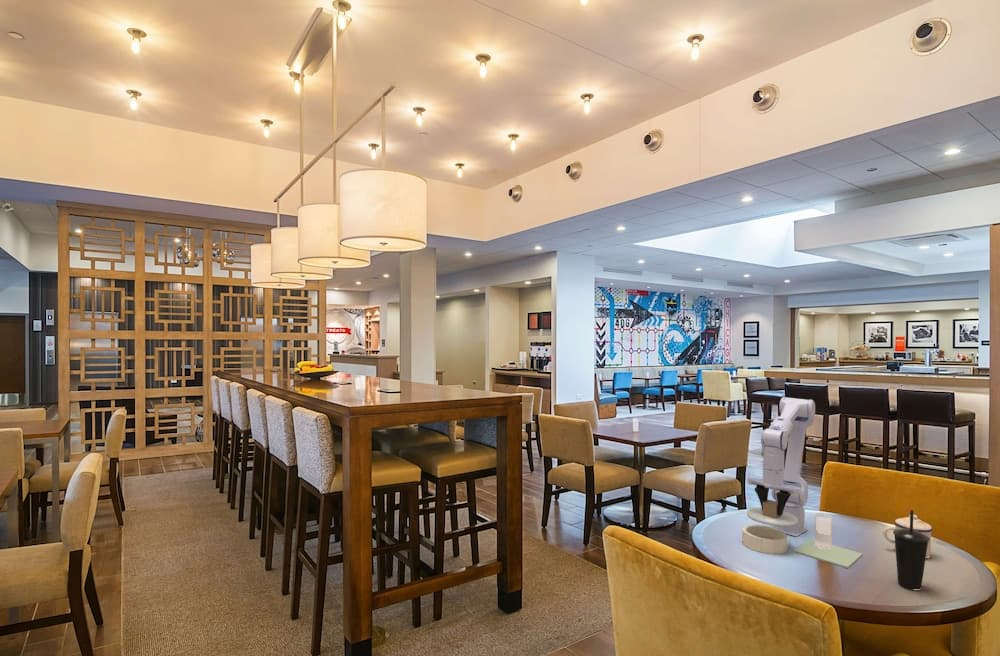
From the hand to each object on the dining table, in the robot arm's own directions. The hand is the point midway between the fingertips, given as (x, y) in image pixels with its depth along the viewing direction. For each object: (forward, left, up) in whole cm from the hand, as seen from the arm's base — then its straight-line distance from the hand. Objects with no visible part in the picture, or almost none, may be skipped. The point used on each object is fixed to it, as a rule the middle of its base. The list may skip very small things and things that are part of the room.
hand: (772, 512), depth 168 cm
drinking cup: (-2, +34, -11) cm, 36 cm away
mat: (-8, +13, -10) cm, 19 cm away
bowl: (+1, -2, -10) cm, 11 cm away
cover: (0, 0, -2) cm, 2 cm away
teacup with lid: (-28, +28, -11) cm, 41 cm away
